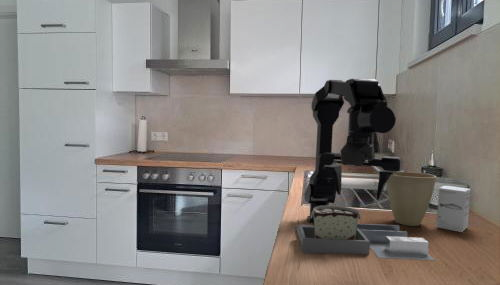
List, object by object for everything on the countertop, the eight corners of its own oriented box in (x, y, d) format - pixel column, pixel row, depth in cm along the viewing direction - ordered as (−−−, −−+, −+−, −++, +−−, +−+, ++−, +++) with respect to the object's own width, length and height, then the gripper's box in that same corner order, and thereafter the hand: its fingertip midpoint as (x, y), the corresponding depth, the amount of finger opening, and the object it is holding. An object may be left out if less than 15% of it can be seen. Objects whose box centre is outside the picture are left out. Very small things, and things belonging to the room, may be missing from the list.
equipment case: (295, 227, 105) (296, 215, 105) (348, 229, 104) (349, 217, 104) (302, 252, 84) (303, 238, 84) (369, 255, 83) (369, 241, 83)
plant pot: (444, 228, 107) (447, 177, 106) (401, 230, 104) (404, 177, 103) (412, 216, 122) (414, 170, 121) (374, 217, 119) (376, 170, 118)
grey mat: (366, 244, 91) (366, 242, 91) (417, 246, 90) (417, 245, 90) (378, 259, 81) (378, 257, 81) (435, 261, 80) (435, 260, 80)
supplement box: (435, 227, 108) (438, 187, 107) (442, 223, 113) (444, 184, 113) (463, 233, 103) (465, 191, 102) (468, 228, 108) (471, 188, 108)
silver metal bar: (385, 248, 87) (385, 236, 87) (422, 250, 86) (422, 237, 86) (389, 253, 84) (390, 240, 83) (427, 255, 83) (428, 242, 83)
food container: (351, 242, 92) (353, 205, 92) (359, 251, 86) (361, 211, 86) (305, 241, 92) (306, 204, 91) (310, 250, 86) (311, 210, 85)
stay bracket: (354, 236, 98) (355, 223, 97) (398, 238, 97) (398, 225, 97) (360, 243, 92) (360, 230, 91) (406, 245, 91) (407, 232, 91)
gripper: (311, 130, 81) (308, 197, 82) (397, 134, 71) (393, 209, 72) (327, 130, 90) (324, 190, 91) (405, 133, 81) (401, 200, 81)
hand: (357, 197), depth 84 cm, fingers open, 9 cm apart
